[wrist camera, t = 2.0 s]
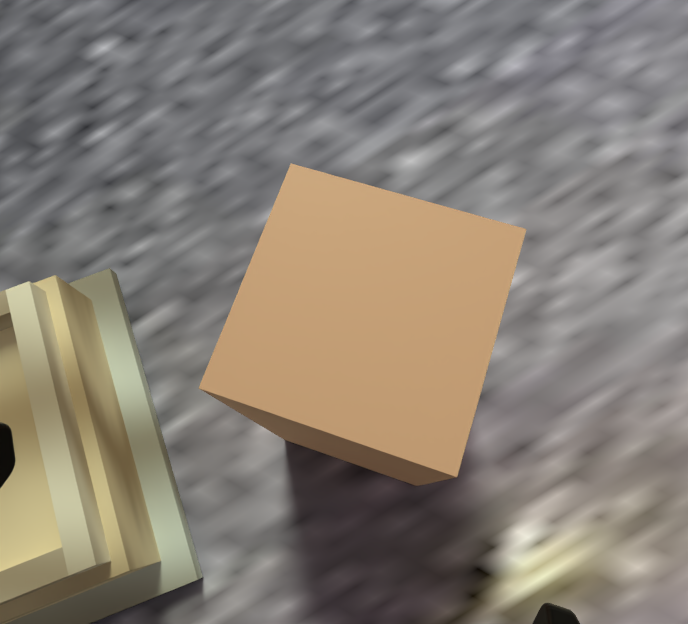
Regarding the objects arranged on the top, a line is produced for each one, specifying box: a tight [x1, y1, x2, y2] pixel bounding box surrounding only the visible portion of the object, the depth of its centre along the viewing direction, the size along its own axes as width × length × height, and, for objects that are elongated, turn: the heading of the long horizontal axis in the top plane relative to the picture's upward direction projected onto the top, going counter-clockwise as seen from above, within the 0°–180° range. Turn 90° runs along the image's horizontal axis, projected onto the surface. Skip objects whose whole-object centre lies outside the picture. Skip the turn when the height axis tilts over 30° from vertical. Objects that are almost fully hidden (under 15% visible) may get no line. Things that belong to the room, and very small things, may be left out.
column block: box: [199, 164, 526, 486], centre depth 17 cm, size 5×5×11 cm
